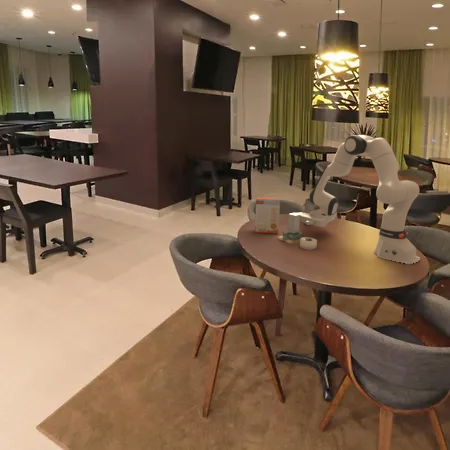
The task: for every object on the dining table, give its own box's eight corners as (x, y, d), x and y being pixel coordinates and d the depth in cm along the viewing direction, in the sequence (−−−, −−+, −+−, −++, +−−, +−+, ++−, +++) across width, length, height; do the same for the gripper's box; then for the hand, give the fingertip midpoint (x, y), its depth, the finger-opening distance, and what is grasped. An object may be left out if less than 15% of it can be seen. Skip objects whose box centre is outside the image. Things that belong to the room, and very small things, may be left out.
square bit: (298, 238, 241) (300, 214, 237) (293, 239, 238) (295, 215, 234) (292, 236, 244) (294, 212, 240) (287, 237, 242) (288, 213, 238)
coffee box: (309, 220, 282) (311, 196, 278) (318, 222, 279) (320, 198, 274) (303, 223, 275) (305, 199, 271) (312, 225, 272) (314, 200, 267)
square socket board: (307, 240, 241) (308, 233, 240) (293, 244, 233) (293, 237, 232) (291, 235, 250) (292, 228, 248) (277, 238, 242) (278, 231, 241)
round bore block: (319, 247, 230) (320, 240, 229) (309, 250, 225) (309, 243, 224) (306, 243, 237) (307, 236, 236) (296, 246, 231) (296, 238, 230)
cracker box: (277, 231, 257) (280, 197, 251) (278, 234, 251) (280, 199, 245) (254, 229, 258) (256, 196, 252) (254, 232, 252) (256, 198, 246)
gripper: (302, 208, 257) (287, 211, 249) (330, 216, 242) (314, 220, 234) (301, 218, 259) (286, 222, 250) (329, 226, 244) (313, 231, 235)
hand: (300, 221), depth 242 cm, fingers open, 8 cm apart
